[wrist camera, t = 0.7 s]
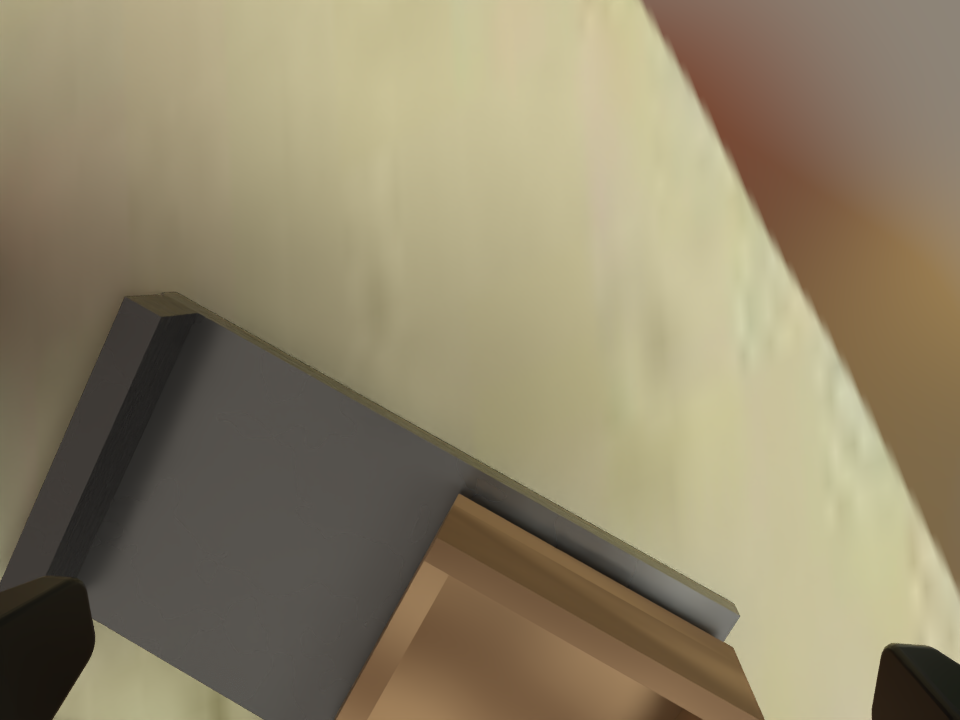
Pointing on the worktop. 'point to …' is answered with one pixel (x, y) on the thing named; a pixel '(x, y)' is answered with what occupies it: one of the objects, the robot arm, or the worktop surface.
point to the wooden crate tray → (536, 641)
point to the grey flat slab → (269, 512)
